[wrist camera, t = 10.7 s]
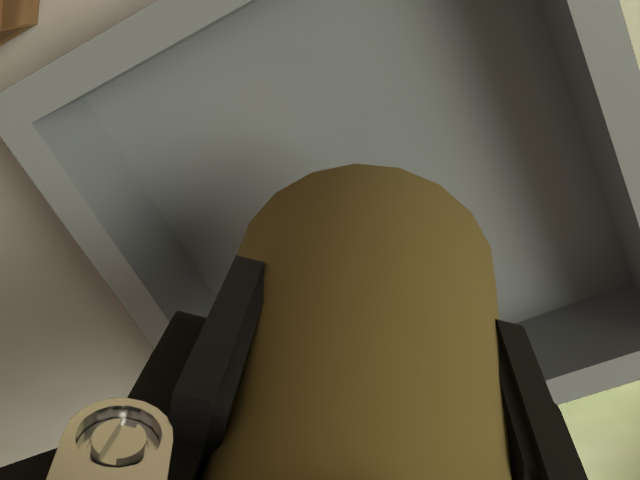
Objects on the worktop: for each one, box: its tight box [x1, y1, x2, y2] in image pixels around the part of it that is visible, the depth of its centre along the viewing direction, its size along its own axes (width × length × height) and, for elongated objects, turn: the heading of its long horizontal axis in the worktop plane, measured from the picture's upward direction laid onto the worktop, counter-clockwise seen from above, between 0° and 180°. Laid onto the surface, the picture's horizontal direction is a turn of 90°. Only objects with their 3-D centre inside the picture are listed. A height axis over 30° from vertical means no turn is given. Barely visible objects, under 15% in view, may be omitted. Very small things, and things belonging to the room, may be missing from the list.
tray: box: [0, 0, 640, 405], centre depth 18 cm, size 15×15×4 cm
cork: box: [200, 164, 512, 480], centre depth 9 cm, size 6×6×11 cm
